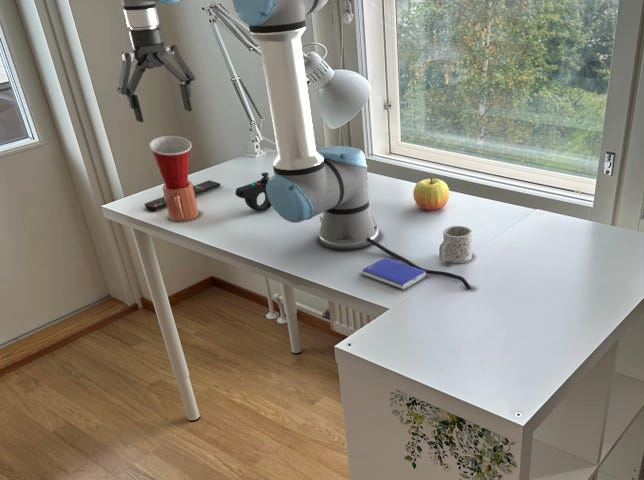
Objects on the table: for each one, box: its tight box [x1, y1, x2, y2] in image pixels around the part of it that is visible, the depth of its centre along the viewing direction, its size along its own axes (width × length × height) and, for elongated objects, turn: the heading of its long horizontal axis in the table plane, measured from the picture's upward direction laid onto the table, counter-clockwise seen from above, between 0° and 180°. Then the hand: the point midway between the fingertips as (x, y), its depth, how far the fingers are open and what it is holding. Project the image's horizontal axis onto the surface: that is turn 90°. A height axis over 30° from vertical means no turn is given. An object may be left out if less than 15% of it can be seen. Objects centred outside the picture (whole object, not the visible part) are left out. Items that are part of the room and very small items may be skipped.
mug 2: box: [438, 225, 473, 264], centre depth 169 cm, size 10×7×7 cm, turn 140°
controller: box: [234, 172, 272, 212], centre depth 200 cm, size 4×12×10 cm, turn 133°
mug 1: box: [161, 180, 199, 222], centre depth 198 cm, size 11×8×9 cm
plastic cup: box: [148, 135, 193, 189], centre depth 193 cm, size 11×11×12 cm
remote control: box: [144, 180, 221, 212], centre depth 213 cm, size 5×24×1 cm, turn 142°
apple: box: [413, 177, 450, 211], centre depth 197 cm, size 10×10×8 cm
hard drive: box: [362, 257, 427, 290], centre depth 164 cm, size 2×8×12 cm
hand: (164, 115), depth 187 cm, fingers open, 13 cm apart
